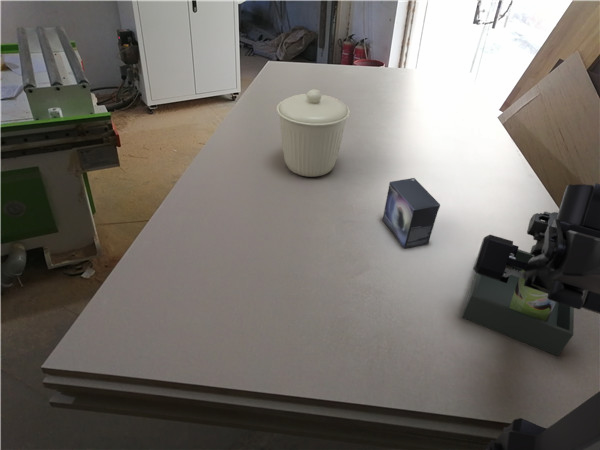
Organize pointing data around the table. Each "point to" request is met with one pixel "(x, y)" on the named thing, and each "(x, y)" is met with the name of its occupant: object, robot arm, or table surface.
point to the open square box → (517, 313)
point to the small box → (410, 212)
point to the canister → (311, 132)
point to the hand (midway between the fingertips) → (530, 276)
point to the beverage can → (531, 301)
